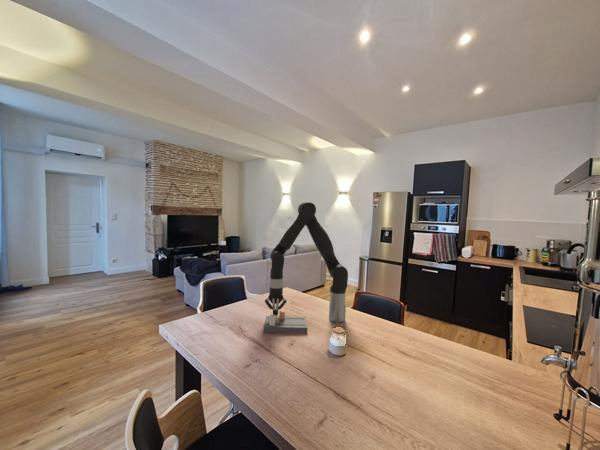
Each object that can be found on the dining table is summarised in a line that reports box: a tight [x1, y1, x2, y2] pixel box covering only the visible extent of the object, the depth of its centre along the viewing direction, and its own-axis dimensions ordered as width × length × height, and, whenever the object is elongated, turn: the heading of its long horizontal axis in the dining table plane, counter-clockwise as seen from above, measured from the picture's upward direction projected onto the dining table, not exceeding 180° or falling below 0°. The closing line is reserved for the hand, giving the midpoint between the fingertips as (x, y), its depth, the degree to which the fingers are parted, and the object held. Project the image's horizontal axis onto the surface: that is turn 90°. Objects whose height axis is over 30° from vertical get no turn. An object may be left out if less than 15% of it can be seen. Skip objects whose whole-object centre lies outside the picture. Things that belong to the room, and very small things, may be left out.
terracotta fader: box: [278, 308, 286, 319], centre depth 142 cm, size 3×4×4 cm
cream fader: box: [269, 314, 276, 326], centre depth 134 cm, size 3×4×4 cm
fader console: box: [263, 315, 308, 334], centre depth 138 cm, size 23×14×3 cm, turn 93°
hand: (275, 315), depth 142 cm, fingers closed
